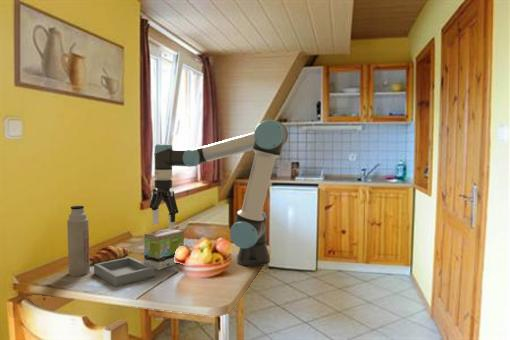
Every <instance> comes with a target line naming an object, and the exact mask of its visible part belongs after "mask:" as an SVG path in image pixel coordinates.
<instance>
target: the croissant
mask: <svg viewBox="0 0 510 340" xmlns="http://www.w3.org/2000/svg"><path fill="white" fill-rule="evenodd" d="M129 253H130V249H129V248H126V247H120V246H118V245H116V246H112V245H106V246H102V247H101V248H99V250H98V251H96V252H95V254H93V255H92V256H91V257H89V262H92V263H94V264H98V263H102V262H107V261H112V260H117V259H122V258H124V257H125V256H127V255H128V254H129Z"/></svg>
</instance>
